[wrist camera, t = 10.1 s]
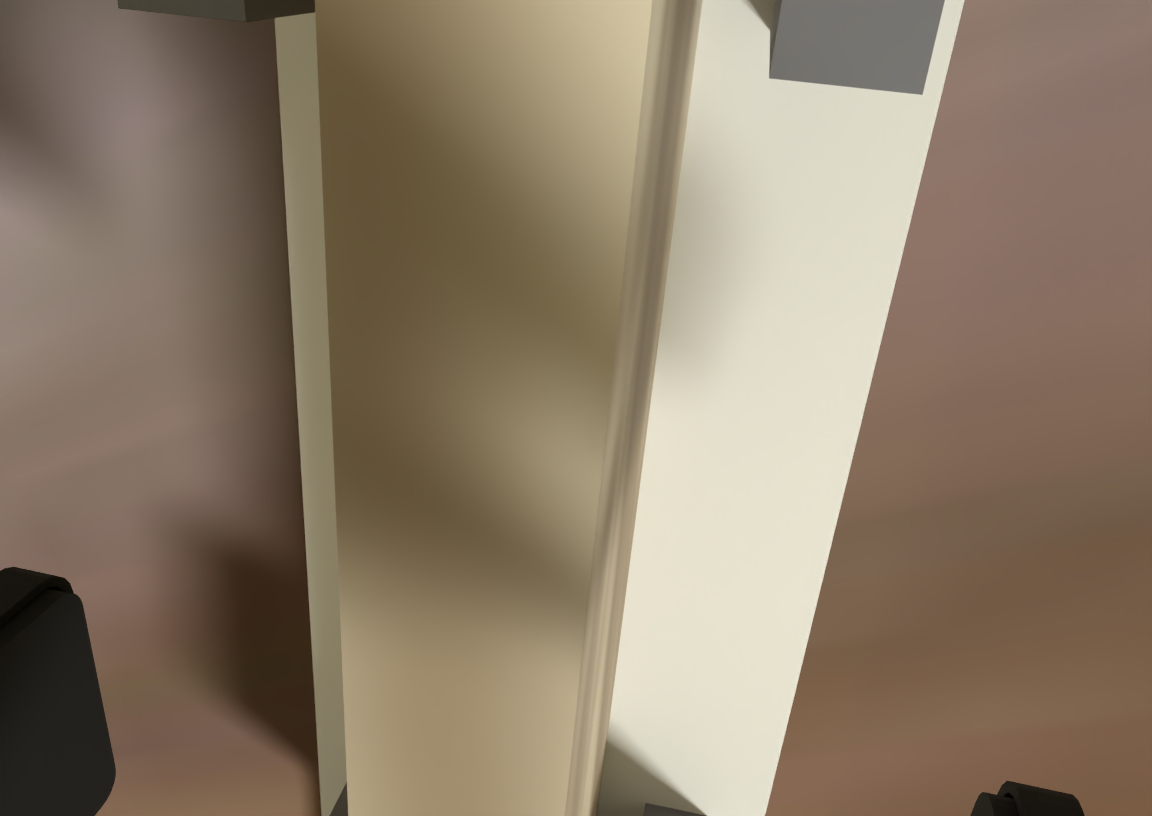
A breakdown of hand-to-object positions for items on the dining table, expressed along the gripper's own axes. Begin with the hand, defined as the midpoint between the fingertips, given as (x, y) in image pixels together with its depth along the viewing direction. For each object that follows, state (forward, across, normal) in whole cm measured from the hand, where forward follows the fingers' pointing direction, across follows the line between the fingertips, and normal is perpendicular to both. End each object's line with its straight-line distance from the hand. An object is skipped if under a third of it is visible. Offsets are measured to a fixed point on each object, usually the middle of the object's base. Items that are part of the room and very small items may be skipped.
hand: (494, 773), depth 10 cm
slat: (+6, +1, 0) cm, 6 cm away
